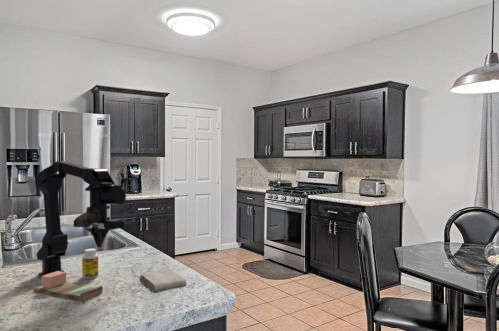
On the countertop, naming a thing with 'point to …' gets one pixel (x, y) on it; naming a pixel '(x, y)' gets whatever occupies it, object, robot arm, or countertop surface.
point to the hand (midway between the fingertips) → (99, 247)
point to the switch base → (71, 291)
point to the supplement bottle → (90, 264)
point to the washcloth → (162, 279)
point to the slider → (53, 279)
